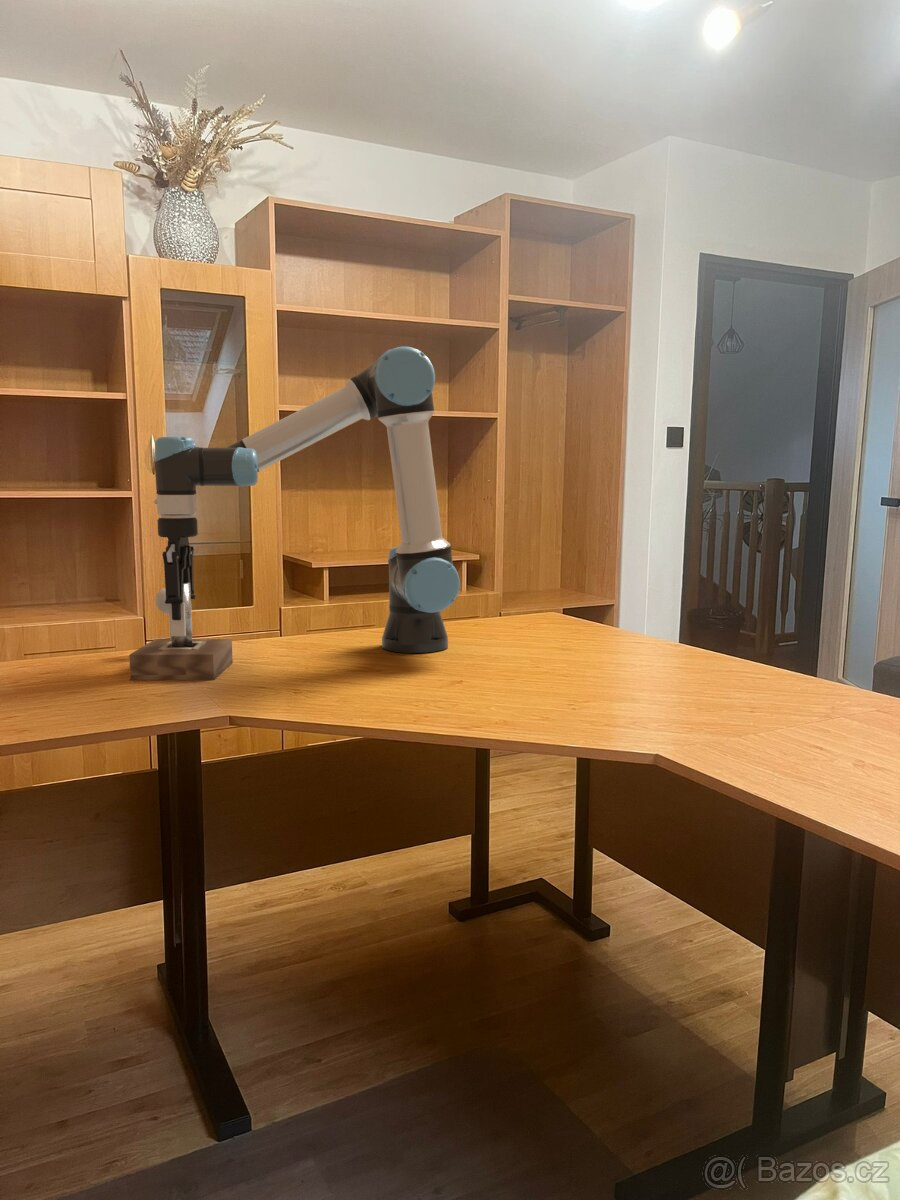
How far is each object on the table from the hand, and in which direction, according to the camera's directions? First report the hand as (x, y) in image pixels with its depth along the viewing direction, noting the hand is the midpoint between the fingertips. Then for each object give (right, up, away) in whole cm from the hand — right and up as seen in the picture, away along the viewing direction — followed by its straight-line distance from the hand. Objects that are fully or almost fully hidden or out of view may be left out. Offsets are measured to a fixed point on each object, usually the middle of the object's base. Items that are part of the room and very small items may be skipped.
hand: (181, 633), depth 180 cm
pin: (0, -5, +1) cm, 5 cm away
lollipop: (-7, -5, +17) cm, 19 cm away
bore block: (0, -8, +1) cm, 8 cm away
